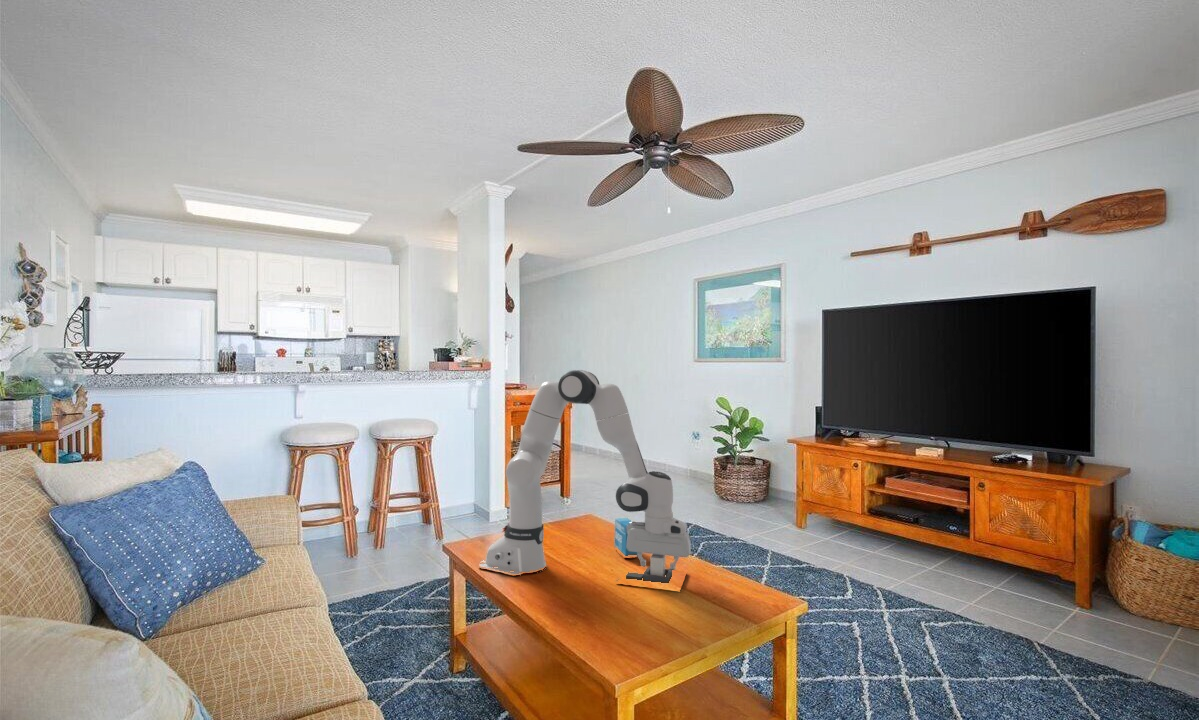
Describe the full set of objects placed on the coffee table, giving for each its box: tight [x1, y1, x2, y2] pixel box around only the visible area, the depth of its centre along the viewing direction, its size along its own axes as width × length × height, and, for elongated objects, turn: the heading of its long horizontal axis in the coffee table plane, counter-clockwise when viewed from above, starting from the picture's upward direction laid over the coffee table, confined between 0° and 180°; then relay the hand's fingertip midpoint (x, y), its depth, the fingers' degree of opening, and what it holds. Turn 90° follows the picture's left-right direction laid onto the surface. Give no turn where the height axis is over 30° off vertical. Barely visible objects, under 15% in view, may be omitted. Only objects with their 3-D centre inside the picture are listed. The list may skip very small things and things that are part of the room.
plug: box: [649, 554, 666, 576], centre depth 183 cm, size 4×4×7 cm
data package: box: [614, 517, 637, 556], centre depth 209 cm, size 12×4×12 cm, turn 18°
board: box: [615, 567, 672, 583], centre depth 185 cm, size 20×16×3 cm
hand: (657, 567), depth 183 cm, fingers open, 8 cm apart
